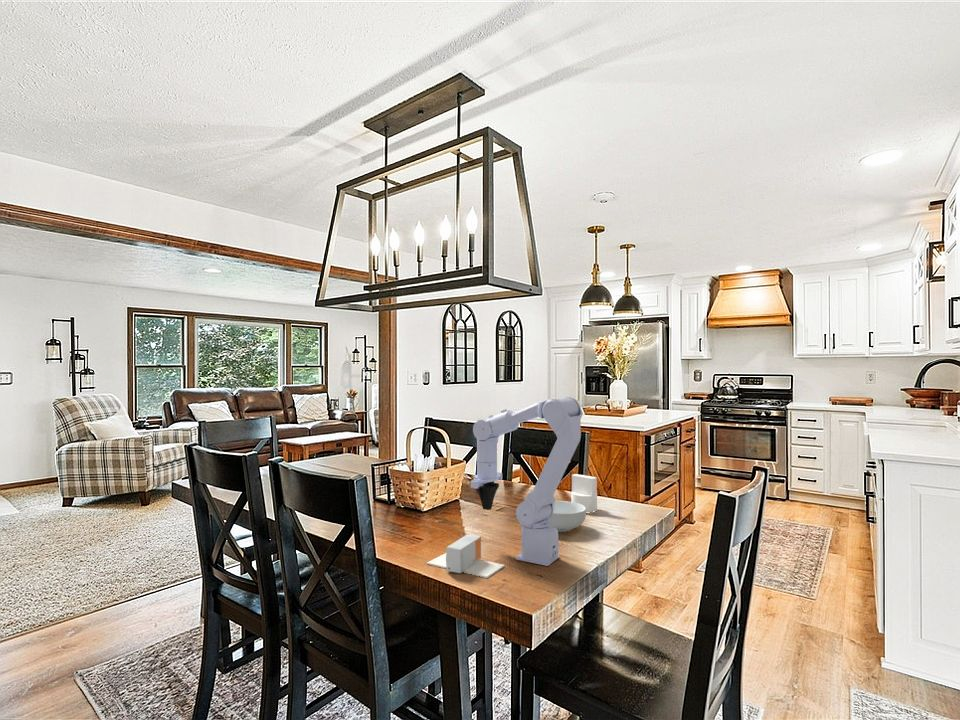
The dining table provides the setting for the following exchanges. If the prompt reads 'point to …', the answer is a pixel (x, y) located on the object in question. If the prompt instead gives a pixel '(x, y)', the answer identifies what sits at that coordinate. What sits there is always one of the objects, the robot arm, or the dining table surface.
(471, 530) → the dining table surface
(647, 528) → the dining table surface
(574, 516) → the cereal bowl
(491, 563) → the white rectangular slab
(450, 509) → the dining table surface
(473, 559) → the skincare box
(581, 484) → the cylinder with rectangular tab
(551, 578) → the dining table surface
